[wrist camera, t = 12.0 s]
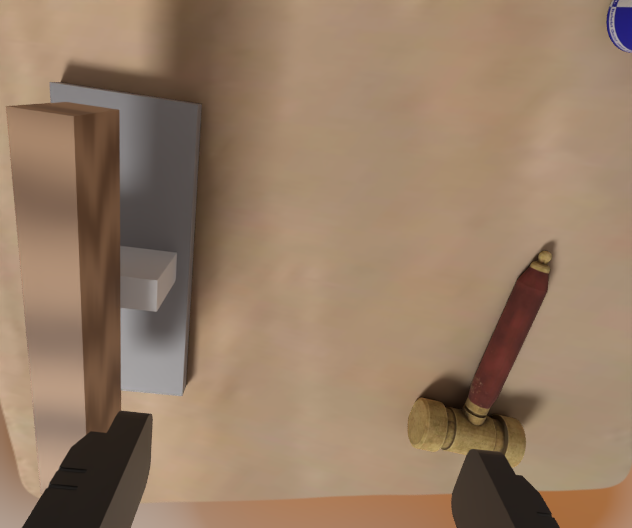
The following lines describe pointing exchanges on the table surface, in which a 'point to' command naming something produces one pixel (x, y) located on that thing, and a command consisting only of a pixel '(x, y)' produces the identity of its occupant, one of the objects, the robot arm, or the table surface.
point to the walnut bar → (68, 268)
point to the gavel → (486, 383)
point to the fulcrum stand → (152, 231)
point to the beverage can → (620, 24)
